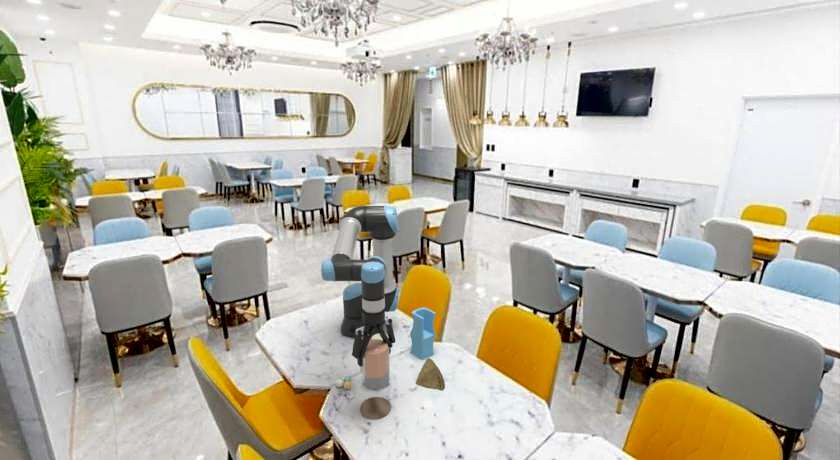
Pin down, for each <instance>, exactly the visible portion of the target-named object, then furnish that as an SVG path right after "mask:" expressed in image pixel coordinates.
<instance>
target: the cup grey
mask: <svg viewBox="0 0 840 460" xmlns="http://www.w3.org/2000/svg"><path fill="white" fill-rule="evenodd" d="M389 382H390V363H389V364H388V371H387V374H385V375H383V376H381V377H379V378H367V377H365V376H364V385H365V386H366V387H368V388H369V390H379V391H380V390H382V389H385V388H386V387H388V386H389Z"/></svg>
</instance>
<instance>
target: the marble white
mask: <svg viewBox="0 0 840 460" xmlns="http://www.w3.org/2000/svg"><path fill="white" fill-rule="evenodd" d="M344 383H345V382H344V379H342V378H338V379H336V381H335V385H336V387H338V388H341V387H344Z"/></svg>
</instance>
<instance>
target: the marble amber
mask: <svg viewBox="0 0 840 460" xmlns="http://www.w3.org/2000/svg"><path fill="white" fill-rule="evenodd" d="M351 388H352V381H351V382H350V381H346V382H344V384H343V389H345V390H350V389H351Z"/></svg>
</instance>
